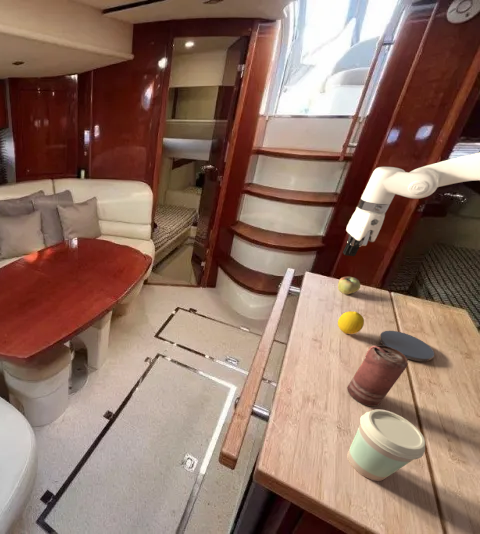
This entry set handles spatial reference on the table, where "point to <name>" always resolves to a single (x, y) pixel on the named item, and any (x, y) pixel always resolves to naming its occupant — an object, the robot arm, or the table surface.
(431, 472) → the table surface
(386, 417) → the coffee cup
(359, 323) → the lemon
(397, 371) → the can
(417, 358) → the plate
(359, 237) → the robot arm
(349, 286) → the apple
